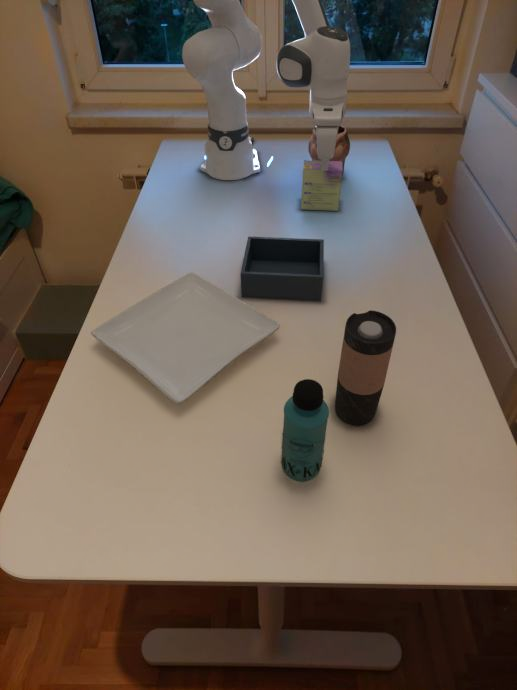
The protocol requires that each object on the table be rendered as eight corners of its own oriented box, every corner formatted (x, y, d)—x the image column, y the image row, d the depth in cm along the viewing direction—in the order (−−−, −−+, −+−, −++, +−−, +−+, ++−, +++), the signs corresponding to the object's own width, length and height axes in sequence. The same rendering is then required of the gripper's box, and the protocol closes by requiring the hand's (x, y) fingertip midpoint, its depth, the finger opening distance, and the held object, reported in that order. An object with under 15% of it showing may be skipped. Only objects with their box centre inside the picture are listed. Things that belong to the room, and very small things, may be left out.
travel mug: (366, 434, 85) (385, 350, 71) (325, 415, 88) (336, 331, 74) (383, 404, 89) (404, 320, 75) (344, 387, 92) (357, 303, 78)
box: (338, 201, 142) (342, 160, 134) (338, 211, 138) (342, 170, 130) (301, 200, 143) (303, 159, 134) (300, 210, 139) (302, 169, 130)
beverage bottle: (277, 454, 82) (279, 372, 68) (318, 451, 82) (328, 368, 68) (282, 490, 77) (285, 409, 63) (325, 487, 78) (337, 405, 64)
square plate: (92, 344, 101) (87, 330, 99) (193, 283, 116) (191, 269, 113) (180, 416, 88) (177, 402, 85) (282, 337, 102) (282, 322, 99)
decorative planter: (308, 158, 162) (311, 114, 152) (347, 160, 161) (351, 115, 151) (305, 187, 148) (307, 140, 138) (346, 189, 147) (352, 142, 137)
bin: (248, 259, 122) (248, 236, 117) (321, 263, 120) (323, 239, 116) (241, 297, 112) (240, 273, 107) (321, 301, 110) (323, 277, 105)
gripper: (315, 92, 129) (313, 145, 139) (313, 121, 115) (311, 178, 124) (340, 92, 129) (335, 145, 138) (341, 121, 114) (337, 179, 124)
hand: (324, 161), depth 131 cm, fingers open, 8 cm apart
